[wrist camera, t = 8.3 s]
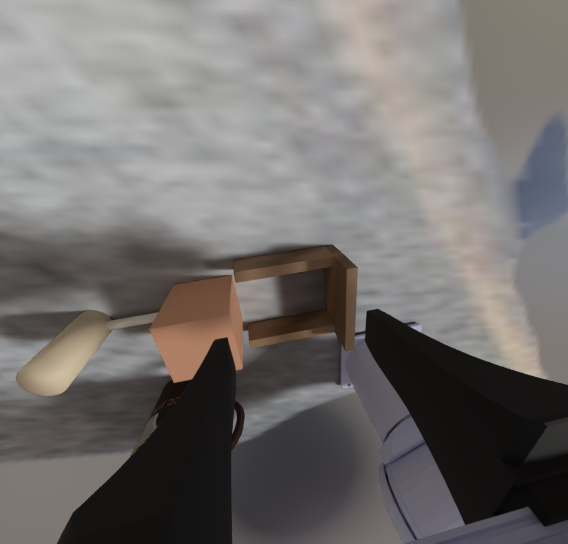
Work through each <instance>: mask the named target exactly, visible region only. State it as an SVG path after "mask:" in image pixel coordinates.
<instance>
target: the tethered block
mask: <svg viewBox="0 0 568 544" xmlns="http://www.w3.org/2000/svg"><path fill="white" fill-rule="evenodd" d="M147 323H152V325H151V327H150V329H149V330H150V332H151V334H152V336H153V339H154V341H155V343H156V345H157V347H158V349H159V352H160V354H161V356H162V358H163V360H164V362H165V364H166V367H167V369H168V371H169V373H170V375H171V377H172V380H173V382H174V383H176V382H181V381H186V380H191V379H192V378H193V377H194V375H195V374H196V372H197V370H198V368H199V367H200V365H201V363H202V362H203V360H204V358H205V356H206V354H207V352H208V351H209V349H210V347H211V345H212V343H213V341H214V340H215V339H220V338H225V337H227V338H228V341H229V345H230V349H231V352H232V356H233V359H234V363H235V367H236V370H239V369H243V320H242V315H241V311H240V307H239V302H238V298H237V294H236V289H235V285H234V281H233V276H232V275H229V276H223V277H217V278H211V279H205V280H199V281H193V282H187V283H181V284H175V285H174V286H173V288H172V289H171V291H170V293H169V295H168V297H167V298H166V300H165V302H164V304H163V305H162V307H161V309H160V311H159V312H157V313H151V314H145V315H140V316H134V317H128V318H122V319H117V320H111V318H110V317H109V316H108V315H106V314H104V313H102V312H99V311H94V310H90V311H85V312H83V313H81V314H80V315H79V316H78V317H76V318H75V319H74V320H73V321H72V322H71V323H70V324H69V325H68V326H67V327H66V328H65V329H64V330H63V331H61V332H60V333H59V334H58V335H57V336H56V337H55V338H54V339H53V340H52V341H51V342H50V343H49V344H48V345H46V346H45V347H44V348H43V349H42V350H41V351H40V352H39V353H38V354H37V355H36V356H35V357H34V358H33V359H32V360H30V361H29V362H28V363H27V364H26V365H25V366H24V367H23V368H22V369H21V370H20V371H19V372H18V373H17V375H16V381H17V383H18V384H19V386H20V387H21V388H23V389H24V390H26V391H27V392H30V393H32V394H35V395H40V396H54V395H58V394H61V393H63V392H64V391H65V390H66V389H67V388H68V387H69V385H70V384H71V383H72V382H73V380H74V379H75V378H76V376H77V375H78V374H79V373H80V371H81V370H82V369H83V367H84V366H85V365H86V364H87V362H88V361H89V360H90V358H91V357H92V356H93V355H94V353H95V352H96V351H97V349H98V348H99V347H100V345H101V344H102V343H103V342H104V340H105V339H106V338H107V336H108V335H109V334H110V333H111V331H112V330H114V329H119V328H125V327H130V326H136V325H142V324H147Z"/></svg>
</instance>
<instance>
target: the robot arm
mask: <svg viewBox="0 0 568 544" xmlns="http://www.w3.org/2000/svg"><path fill="white" fill-rule="evenodd" d="M421 330H422V326H421V325H420V324H419V323H415V324H410V325H406V324H404V323H402V322H401V321H399V320H397V319H395V318H394V317H392V316H390V315H388V314H387V313H385V312H383V311H381V310H379V309H375V310H369V311H367V315H366V330H365V333H364V334H359V335H355V342H354V350H350V351H345V350H344V348H343V346H342V345H341V387H342V388H350V387H354V389H355V391H356V393H357V395H358V397H359V399H360V401H361V403H362V405H363V407H364V409H365V411H366V413H367V415H368V417H369V419H370V421H371V423H372V425H373V427H374V429H375V431H376V433H377V435H378V437H379V440H380V442H381V443H382V446H380V447H379V448H378V449H377V450H378V452H379V454H380V456H381V458H382V460H383V463H381V464H380V465H379V467H378V485H379V490H380V494H381V497H382V500H383V503H384V506H385V508H386V511H387V513H388V515H389V518H390V520H391V522H392V524H393V526H394V528H395V530H396V532H397V534H398V536H399V537H400V539H401V541H402V542H403V544H568V385H565V384H562V383H557V382H554V381H550V380H546V379H542V378H538V377H534V376H531V375H528V374H524V373H521V372H517V371H514V370H511V369H508V368H505V367H502V366H498V365H496V364H493V363H490V362H487V361H484V360H482V359H479V358H476V357H474V356H471V355H468V354H466V353H464V352H461V351H459V350H456V349H454V348H452V347H449V346H447V345H445V344H443V343H441V342H439V341H437V340H435V339H432V338H430V337H428V336H426V335H425V334H423V333H422V332H421ZM235 395H236V367H235V363H234V359H233V356H232V352H231V349H230V345H229V341H228V338H227V337H225V338H220V339H215V340H214V341H213V343H212V345H211V347H210V349H209V351H208V352H207V354H206V356H205V358H204V360H203V362H202V363H201V365H200V367H199V368H198V370H197V372H196V374H195V375H194V377H193V378H192V380H191V382H190V383H189V385H188V386H187V388H186V389H185V391H184V392H183V394H182V395H181V397H180V398H179V399H178V401H177V402H176V404H175V405H174V406H173V408H172V409H171V410H170V412H169V413H168V414H167V416H166V417H165V418H164V419H163V421H162V422H161V423H160V424H159V425H158V427H157V428H156V429H155V430H154V431H153V433H152V434H151V435H150V436H149V437H148V439H147V440H146V441H145V442H144V443H143V444H142V445H141V446H140V447H139V449H138V450H137V451H136V452H135V453H134V454H133V455H132V456H131V457H130V458H129V459H128V460H127V461H126V462H125V463H124V464H123V465H122V467H121V468H119V470H118V471H117V472H116V473H115V474H114V475H112V476H111V478H110V479H109V480H107V481H106V483H104V484H103V485H102V486H101V487H100V488H99V489H98V490H97V491H96V492H95V493H94V494H93V495H91V497H89V498H88V499H87V500H86V501H85V502H84V503H83V504H82V505H81V506H80V507H79V508H78V509H76V510H75V511H74V512H73V514H72V516H71V518H70V520H69V521H68V523H67V525H66V527H65V529H64V530H63V533H62V534H61V537H60V539H59V541H58V543H57V544H232V513H231V442H232V429H233V417H234V406H235Z"/></svg>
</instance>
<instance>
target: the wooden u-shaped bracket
mask: <svg viewBox="0 0 568 544" xmlns="http://www.w3.org/2000/svg"><path fill="white" fill-rule="evenodd" d="M322 268H325V285H326V310H320V311H315V312H309V313H304V314H299V315H293V316H288V317H282V318H277V319H271V320H266V321H260V322H255V323H249V324H248V328H249V344H250V348H256V347H261V346H267V345H272V344H277V343H282V342H287V341H292V340H297V339H303V338H308V337H313V336H318V335H323V334H328V333H333V332H335V333H336V335H337V337H338V339H339V341H340V343H341V345H342V346H343V348H344V350H345V351H350V350H354V342H355V319H356V295H357V271H358V267H357V266H356V265H354V264H353V263H352V262H351V261H350V260H349V259H348V258H347V257H346V256H345V255H344V254H343V253H341V252H340V251H339V250H338V249H337V248H336V247H335V246H334V245H328V246H322V247H316V248H309V249H303V250H296V251H290V252H284V253H277V254H271V255H264V256H258V257H251V258H245V259H239V260H235V262H234V277H235V281H236V283H238V282H244V281H250V280H256V279H262V278H268V277H274V276H280V275H286V274H292V273H298V272H304V271H310V270H316V269H322Z"/></svg>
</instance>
